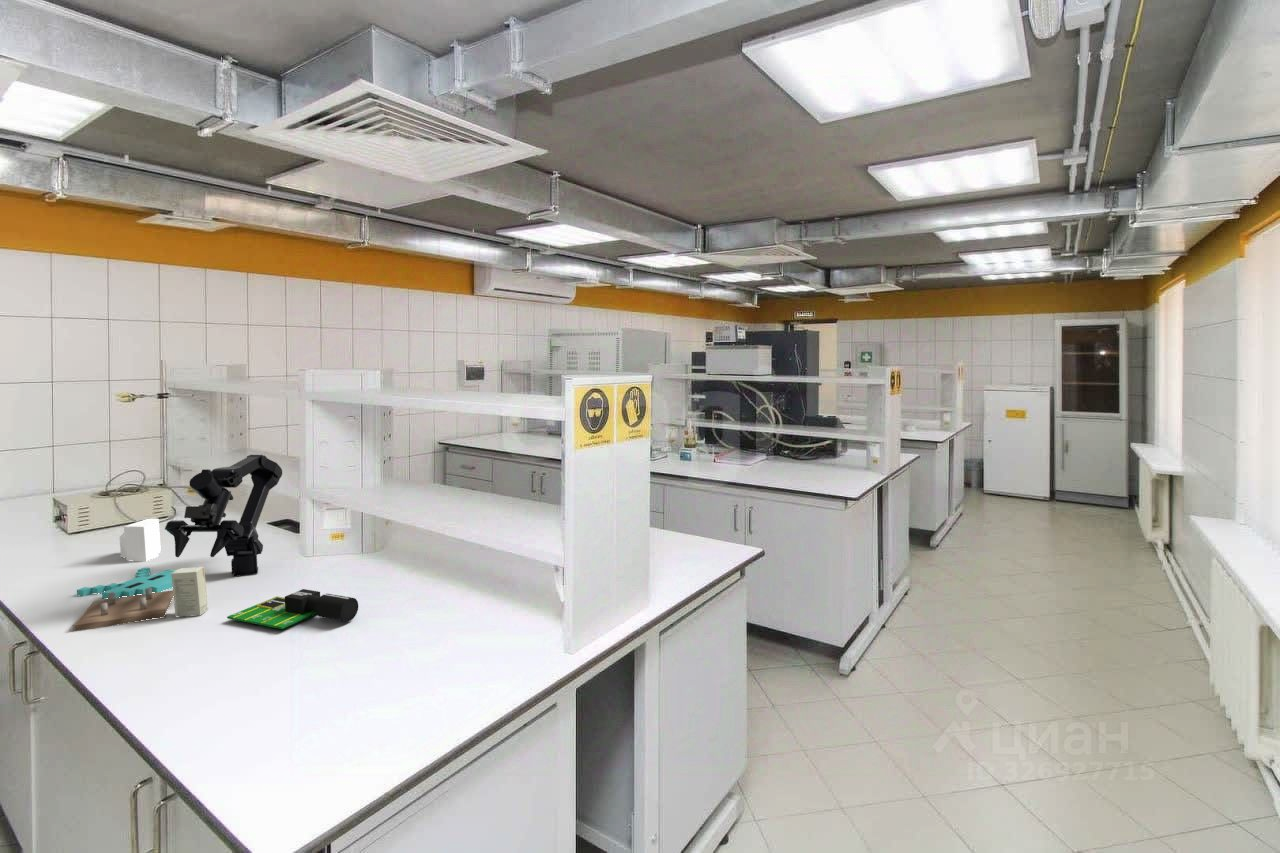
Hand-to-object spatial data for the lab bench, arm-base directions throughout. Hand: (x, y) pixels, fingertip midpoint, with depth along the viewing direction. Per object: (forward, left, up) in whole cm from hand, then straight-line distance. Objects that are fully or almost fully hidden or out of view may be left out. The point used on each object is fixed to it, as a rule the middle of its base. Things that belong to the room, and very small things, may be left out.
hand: (194, 556), depth 175 cm
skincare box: (0, +8, -14) cm, 16 cm away
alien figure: (+16, -23, -14) cm, 32 cm away
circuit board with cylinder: (-24, +25, -14) cm, 37 cm away
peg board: (+15, -1, -13) cm, 20 cm away
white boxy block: (+21, -58, -14) cm, 63 cm away
